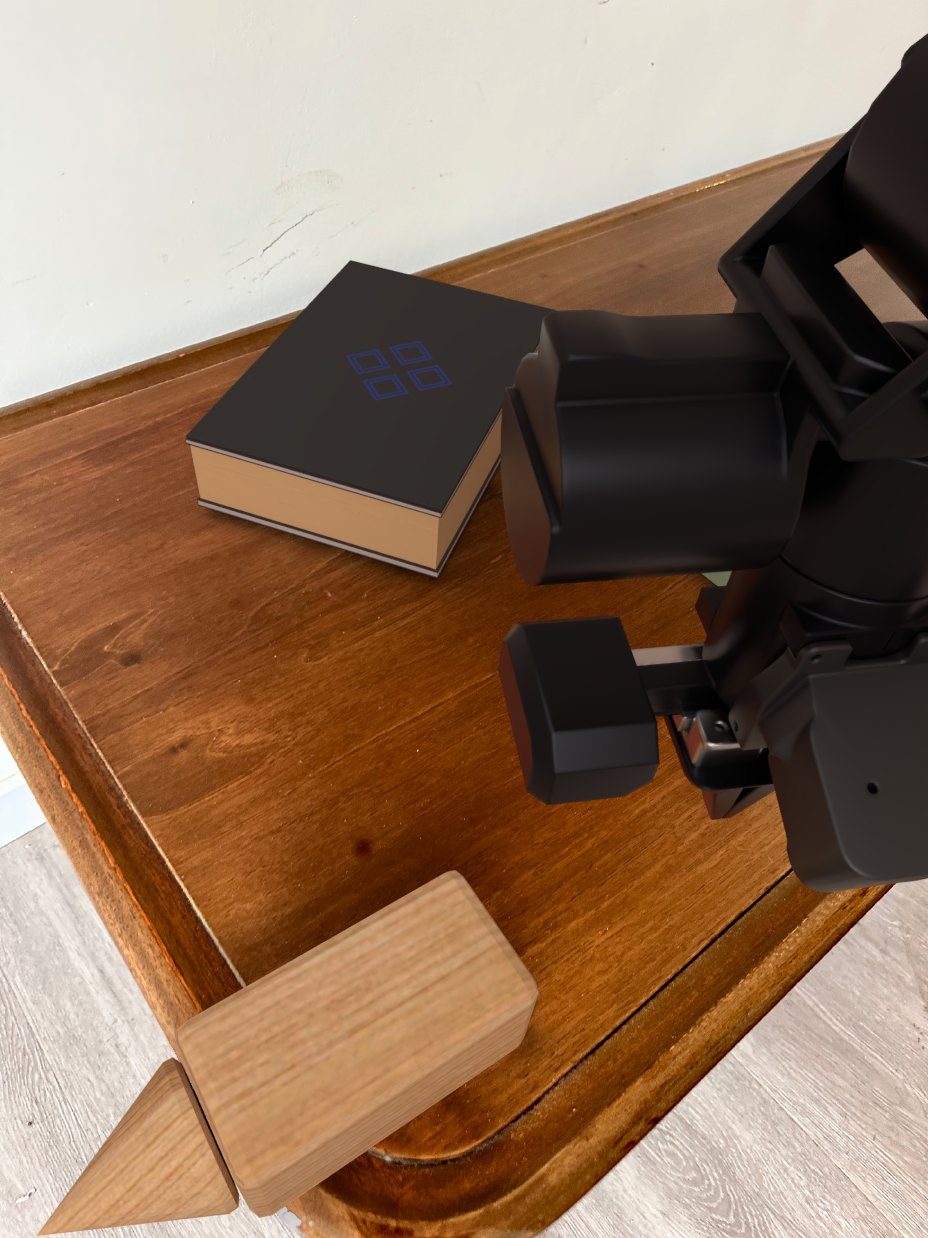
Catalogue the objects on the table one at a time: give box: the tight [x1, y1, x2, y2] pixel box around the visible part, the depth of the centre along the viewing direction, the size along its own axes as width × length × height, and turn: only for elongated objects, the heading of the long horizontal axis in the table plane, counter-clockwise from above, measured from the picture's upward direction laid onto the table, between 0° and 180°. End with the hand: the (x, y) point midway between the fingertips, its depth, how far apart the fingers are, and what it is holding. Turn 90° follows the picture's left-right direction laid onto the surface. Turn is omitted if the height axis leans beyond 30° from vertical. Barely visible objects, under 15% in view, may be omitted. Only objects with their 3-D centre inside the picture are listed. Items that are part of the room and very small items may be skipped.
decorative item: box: [36, 869, 540, 1237], centre depth 38 cm, size 7×7×20 cm
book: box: [184, 259, 558, 579], centre depth 68 cm, size 17×25×7 cm
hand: (715, 809), depth 39 cm, fingers closed
